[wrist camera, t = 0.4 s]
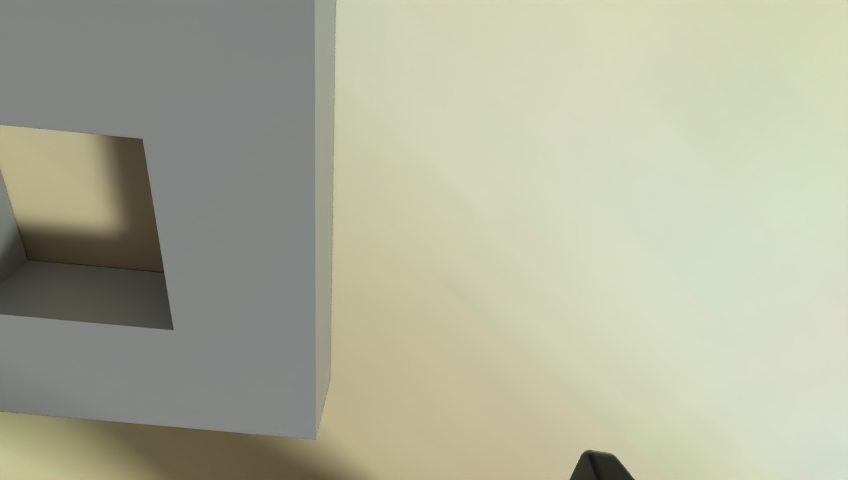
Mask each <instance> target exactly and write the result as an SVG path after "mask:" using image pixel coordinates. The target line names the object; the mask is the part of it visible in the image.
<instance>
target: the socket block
mask: <svg viewBox="0 0 848 480" xmlns="http://www.w3.org/2000/svg"><path fill="white" fill-rule="evenodd" d="M335 17H336V0H0V125H8V126H18V127H29V128H39V129H49V130H59V131H69V132H79V133H89V134H99V135H109V136H119V137H129V138H139V139H143V145H144V151H145V157H146V163H147V169H148V175H149V182H150V188H151V194H152V200H153V206H154V212H155V218H156V224H157V231H158V237H159V243H160V249H161V255H162V261H163V267H164V273H160V272H149V271H138V270H128V269H117V268H107V267H96V266H86V265H75V264H64V263H54V262H43V261H33V260H28V259H27V256H26V253H25V249H24V246H23V243H22V240H21V236H20V233H19V230H18V226H17V223H16V220H15V217H14V213H13V210H12V207H11V203H10V200H9V197H8V194H7V190H6V187H5V184H4V180H3V177H2V174H1V171H0V411H1V412H12V413H23V414H34V415H46V416H57V417H68V418H79V419H90V420H102V421H113V422H124V423H135V424H146V425H158V426H169V427H180V428H191V429H202V430H214V431H225V432H236V433H247V434H258V435H270V436H281V437H292V438H303V439H315V440H316V437H317V433H318V429H319V425H320V420H321V416H322V412H323V408H324V404H325V400H326V395H327V391H328V387H329V383H330V362H331V293H332V224H333V155H334V86H335Z"/></svg>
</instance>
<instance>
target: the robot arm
mask: <svg viewBox="0 0 848 480" xmlns="http://www.w3.org/2000/svg"><path fill="white" fill-rule="evenodd" d="M570 480H635V479H634V478H633V477H632V476H631V474H630V473H629V472H628V471H627V469H626V468H625V467H624V466H623V465H622V463H621V462H620V461H619V460H618V459H617V457H615V456H614V455H613V454H611V453H606V452H600V451H593V450H586V451H585V452H584V453H583V454H582V455H581V457H580V459H579V461H578V463H577V465H576V467H575V469H574V471H573V474H572V476H571V478H570Z"/></svg>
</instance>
